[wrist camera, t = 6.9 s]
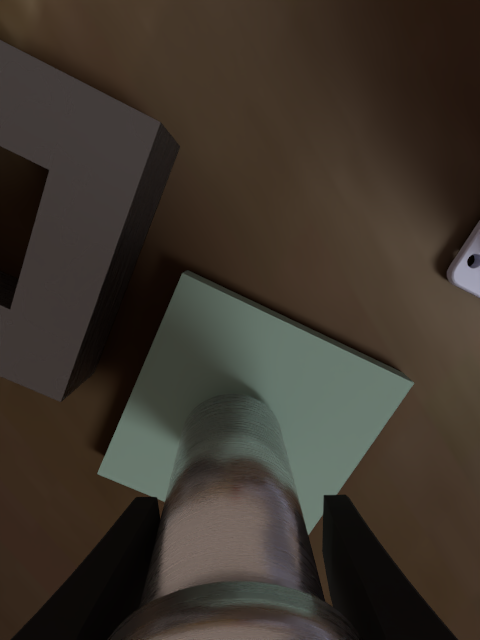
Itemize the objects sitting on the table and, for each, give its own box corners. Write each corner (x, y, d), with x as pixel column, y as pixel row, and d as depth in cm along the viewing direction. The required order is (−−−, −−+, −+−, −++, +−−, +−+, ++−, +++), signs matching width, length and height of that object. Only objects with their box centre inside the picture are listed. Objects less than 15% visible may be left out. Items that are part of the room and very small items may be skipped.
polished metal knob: (159, 388, 12) (26, 682, 4) (290, 375, 12) (402, 644, 4) (178, 494, 13) (107, 863, 6) (296, 482, 13) (389, 834, 6)
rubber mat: (187, 270, 13) (182, 273, 12) (402, 372, 13) (414, 383, 12) (107, 458, 15) (97, 473, 14) (292, 535, 16) (294, 554, 15)
